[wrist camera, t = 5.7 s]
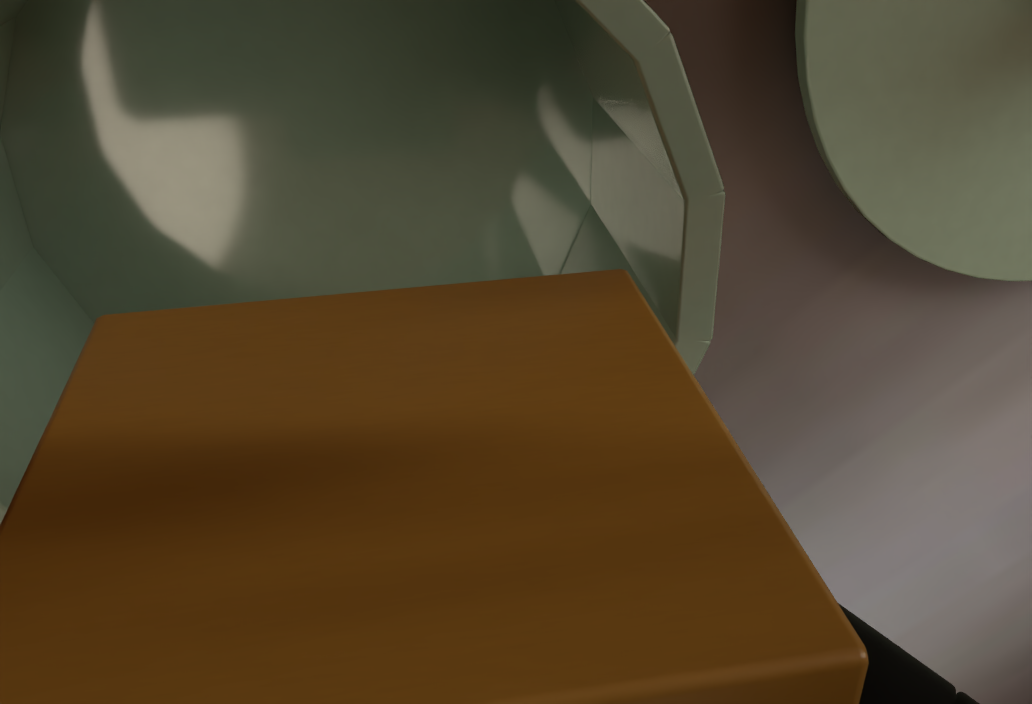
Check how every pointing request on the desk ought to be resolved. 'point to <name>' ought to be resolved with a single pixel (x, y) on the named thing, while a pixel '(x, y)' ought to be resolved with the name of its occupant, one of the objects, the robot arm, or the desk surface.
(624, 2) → the round container
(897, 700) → the robot arm
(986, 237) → the lid
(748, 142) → the desk surface
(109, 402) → the block
